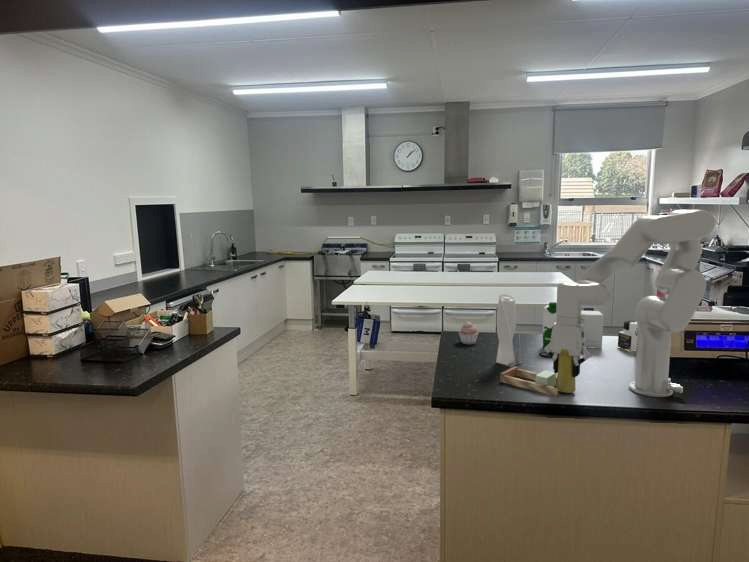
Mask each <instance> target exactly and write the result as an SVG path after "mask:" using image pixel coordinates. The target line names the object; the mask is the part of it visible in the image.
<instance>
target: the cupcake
mask: <svg viewBox="0 0 749 562" xmlns="http://www.w3.org/2000/svg"><path fill="white" fill-rule="evenodd" d="M475 325H476V324H475ZM475 325H474V324H472V323H471V321H467V322H465V323H464V324H463V325H462V326H461V328H460V330H459V332H458V336H459V337H460V340H461V341H460V342H461V343H462V344H464V345H474V344H476V342H477V338H478V335H479V334H480V332H479V331H478V330H477V327H476V326H475Z"/></svg>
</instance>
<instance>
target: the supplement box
mask: <svg viewBox="0 0 749 562" xmlns="http://www.w3.org/2000/svg"><path fill="white" fill-rule="evenodd" d="M581 316H582V319H585V323H581V325H583V326H584V332H585V347H595V348H594V349H600V348H602V349H603V334H604V333H603V332H604V331H603V330H604V314H603V313H602V312H601V311H600V310H581Z"/></svg>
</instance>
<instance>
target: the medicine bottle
mask: <svg viewBox="0 0 749 562" xmlns="http://www.w3.org/2000/svg"><path fill="white" fill-rule="evenodd" d="M636 328H637V320H636V321H635V320H625V321H624V322H623V330H622V331H618V335H617V348H618V347H620V348H619V349H621V348H623V349H622V350H624V349H627V350H629V351H633V352H635V351H634V350H637V336H636V335H635V330H636V331H637V329H636ZM627 350H626V351H627ZM629 351H628V352H629Z"/></svg>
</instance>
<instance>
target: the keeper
mask: <svg viewBox="0 0 749 562" xmlns="http://www.w3.org/2000/svg"><path fill="white" fill-rule="evenodd" d="M556 377H557V373H554V371H551V370H546V369H544V370H542V371H541V372H540V373H539V374H537V375H536V377H535V380H534V382H535V383H539V384H543V385H547V386H551V387H556Z"/></svg>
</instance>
